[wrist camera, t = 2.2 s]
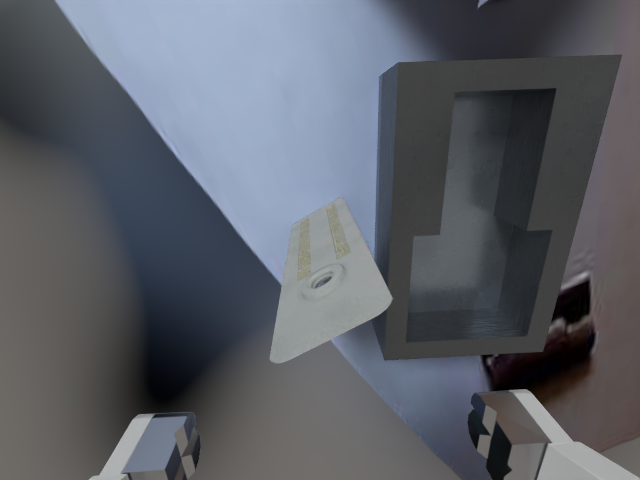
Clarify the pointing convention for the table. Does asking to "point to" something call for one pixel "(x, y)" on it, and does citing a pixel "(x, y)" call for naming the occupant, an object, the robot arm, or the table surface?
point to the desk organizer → (481, 197)
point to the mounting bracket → (337, 294)
